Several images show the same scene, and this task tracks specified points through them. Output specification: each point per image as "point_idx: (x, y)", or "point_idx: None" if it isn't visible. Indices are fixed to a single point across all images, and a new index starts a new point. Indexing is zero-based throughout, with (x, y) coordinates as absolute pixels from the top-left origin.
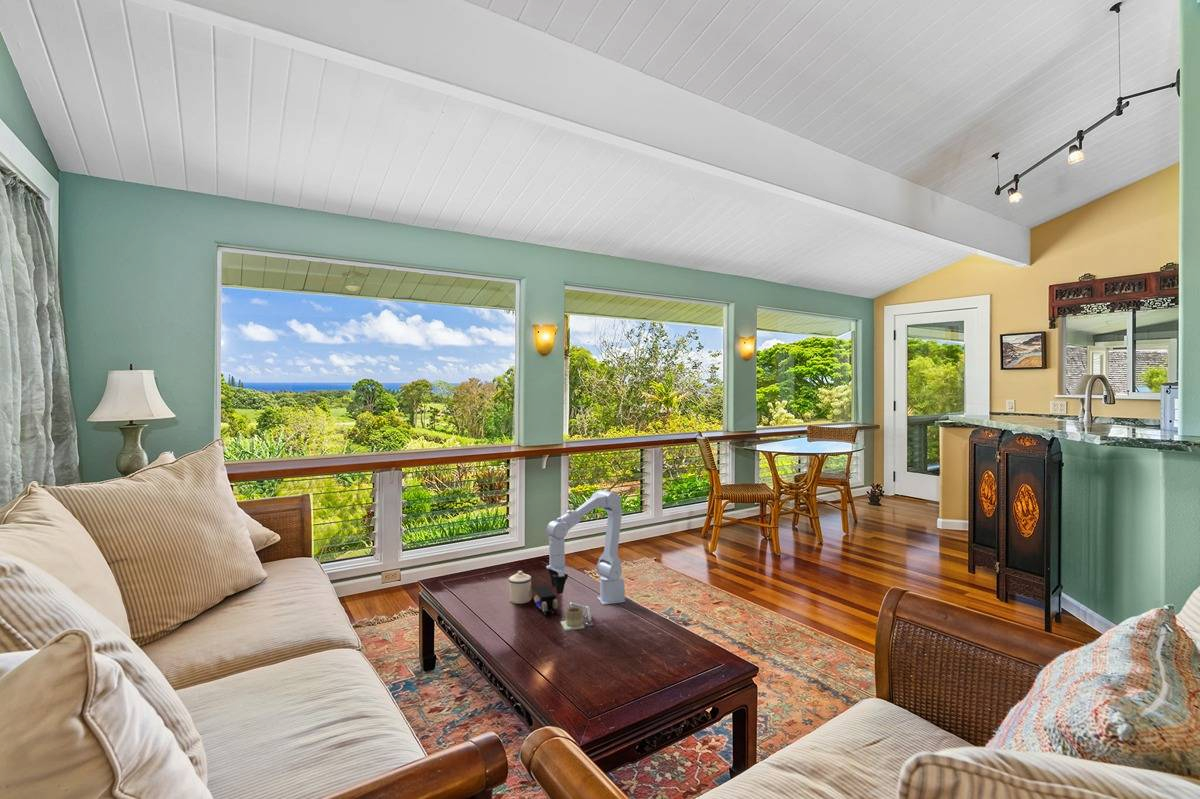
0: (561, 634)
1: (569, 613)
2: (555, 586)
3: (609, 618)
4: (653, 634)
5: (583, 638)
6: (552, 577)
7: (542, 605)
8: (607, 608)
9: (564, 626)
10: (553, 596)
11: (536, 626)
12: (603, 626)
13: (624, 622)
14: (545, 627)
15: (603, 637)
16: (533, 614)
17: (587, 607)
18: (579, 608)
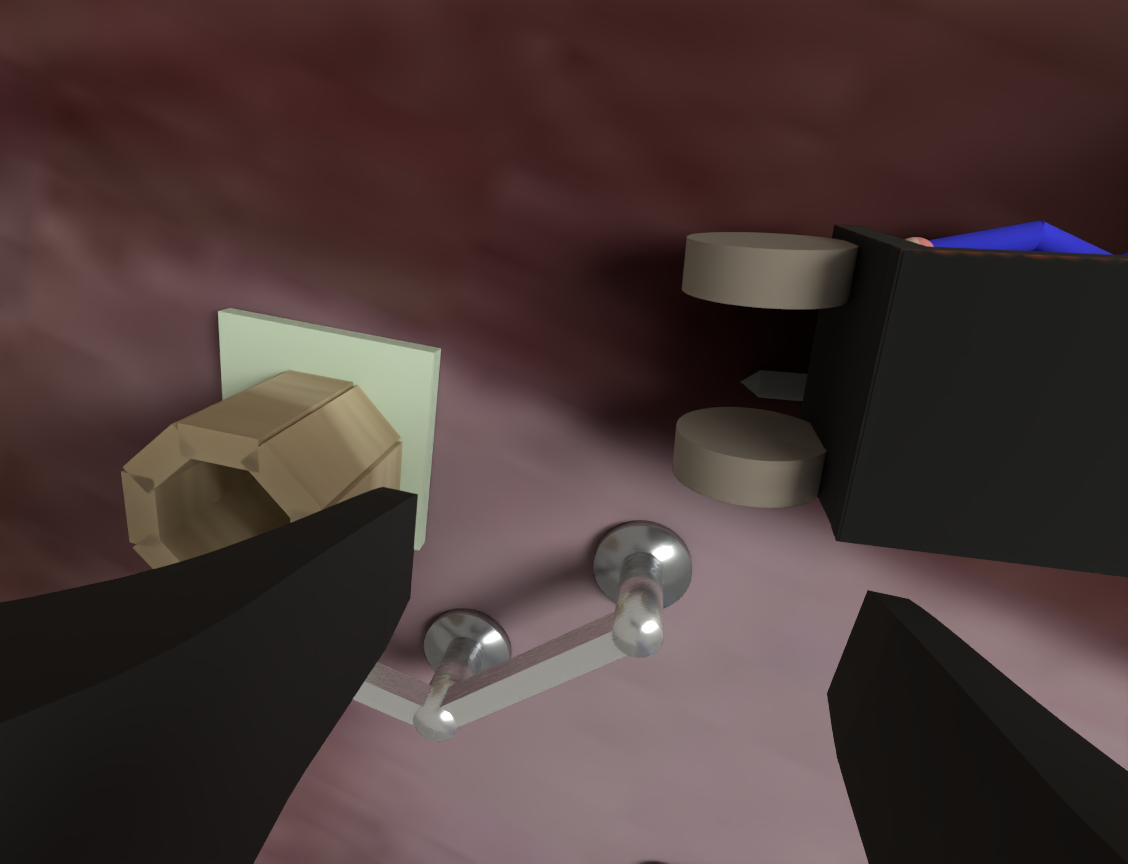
0: (163, 235)
1: (163, 435)
2: (848, 643)
3: (360, 757)
4: None
5: (36, 394)
6: (995, 796)
7: (793, 243)
8: (566, 848)
9: (286, 333)
10: (841, 498)
11: (472, 17)
12: None
13: None
14: (396, 128)
15: (27, 545)
16: (891, 120)
17: (418, 709)
18: None
